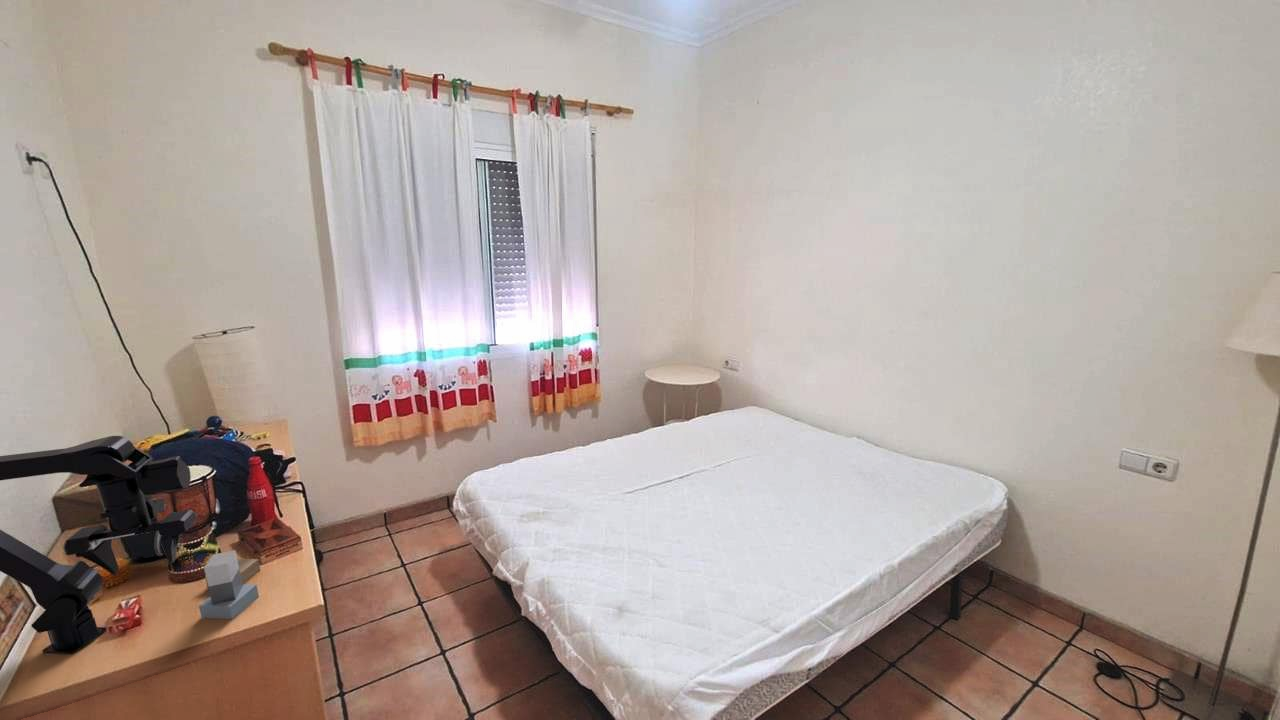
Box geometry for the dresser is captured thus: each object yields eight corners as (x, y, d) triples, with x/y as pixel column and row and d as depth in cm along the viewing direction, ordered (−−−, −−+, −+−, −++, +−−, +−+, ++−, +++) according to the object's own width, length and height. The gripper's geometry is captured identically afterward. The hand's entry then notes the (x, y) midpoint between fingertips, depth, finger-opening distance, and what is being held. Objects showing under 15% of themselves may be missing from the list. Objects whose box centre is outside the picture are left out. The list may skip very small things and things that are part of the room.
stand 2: (201, 617, 108) (198, 605, 107) (229, 595, 114) (226, 583, 114) (232, 618, 107) (230, 606, 106) (258, 596, 114) (256, 584, 113)
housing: (212, 604, 107) (203, 567, 105) (221, 590, 112) (212, 554, 109) (235, 599, 109) (227, 563, 106) (243, 585, 113) (235, 550, 111)
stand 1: (207, 588, 117) (205, 577, 116) (233, 569, 123) (230, 558, 123) (236, 589, 116) (234, 578, 116) (260, 570, 123) (258, 559, 122)
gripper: (199, 473, 110) (216, 535, 114) (88, 490, 104) (110, 556, 108) (173, 497, 100) (193, 565, 104) (49, 517, 94) (75, 589, 98)
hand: (144, 567), depth 104 cm, fingers open, 9 cm apart
